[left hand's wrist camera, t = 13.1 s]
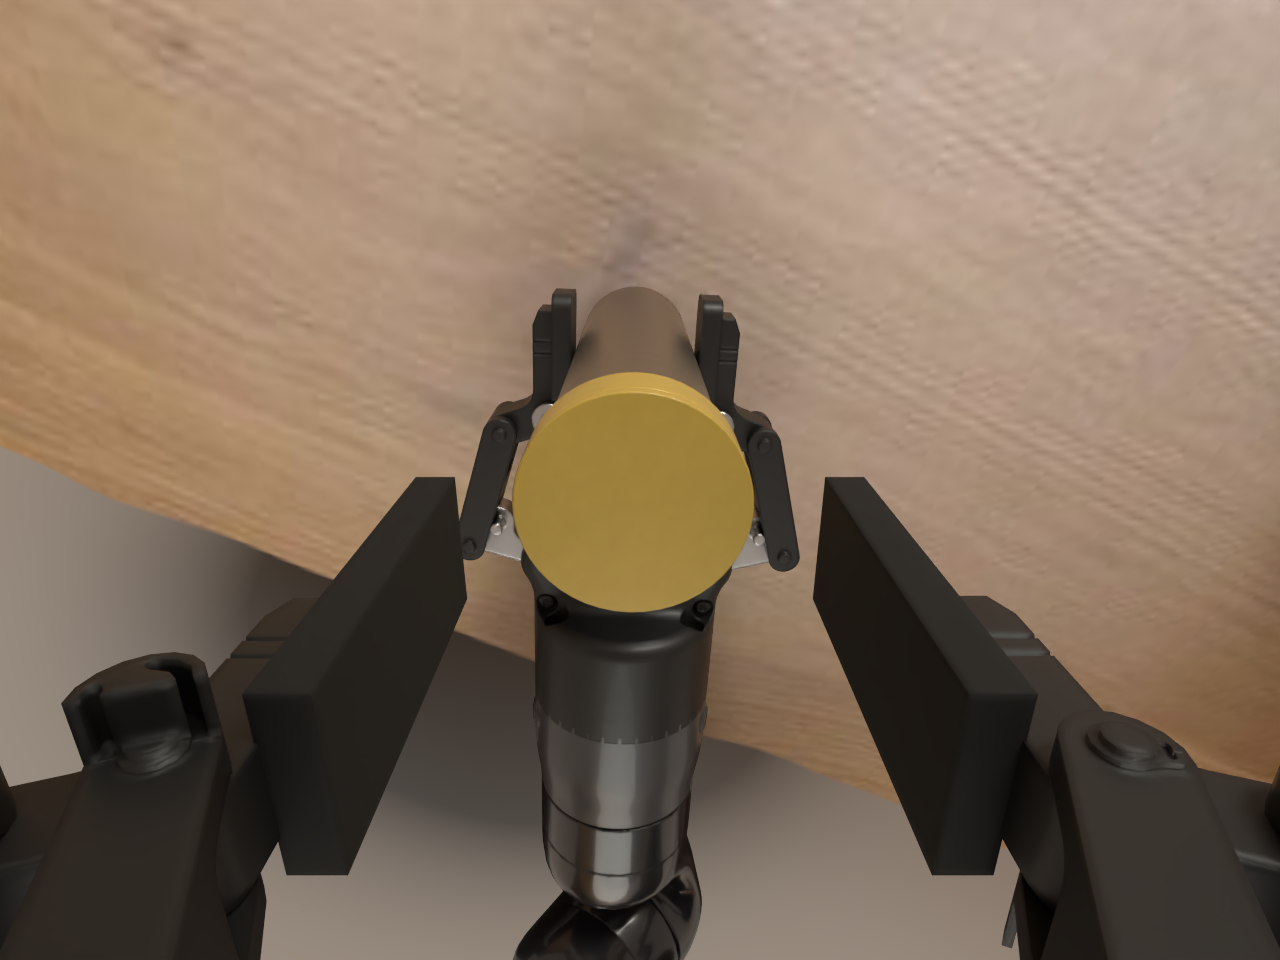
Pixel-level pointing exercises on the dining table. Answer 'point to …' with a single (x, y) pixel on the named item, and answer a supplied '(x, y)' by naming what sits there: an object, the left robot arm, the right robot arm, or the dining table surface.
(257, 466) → the dining table surface
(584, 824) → the right robot arm
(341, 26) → the dining table surface
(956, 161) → the dining table surface
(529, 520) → the lid
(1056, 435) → the dining table surface
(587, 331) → the jar
